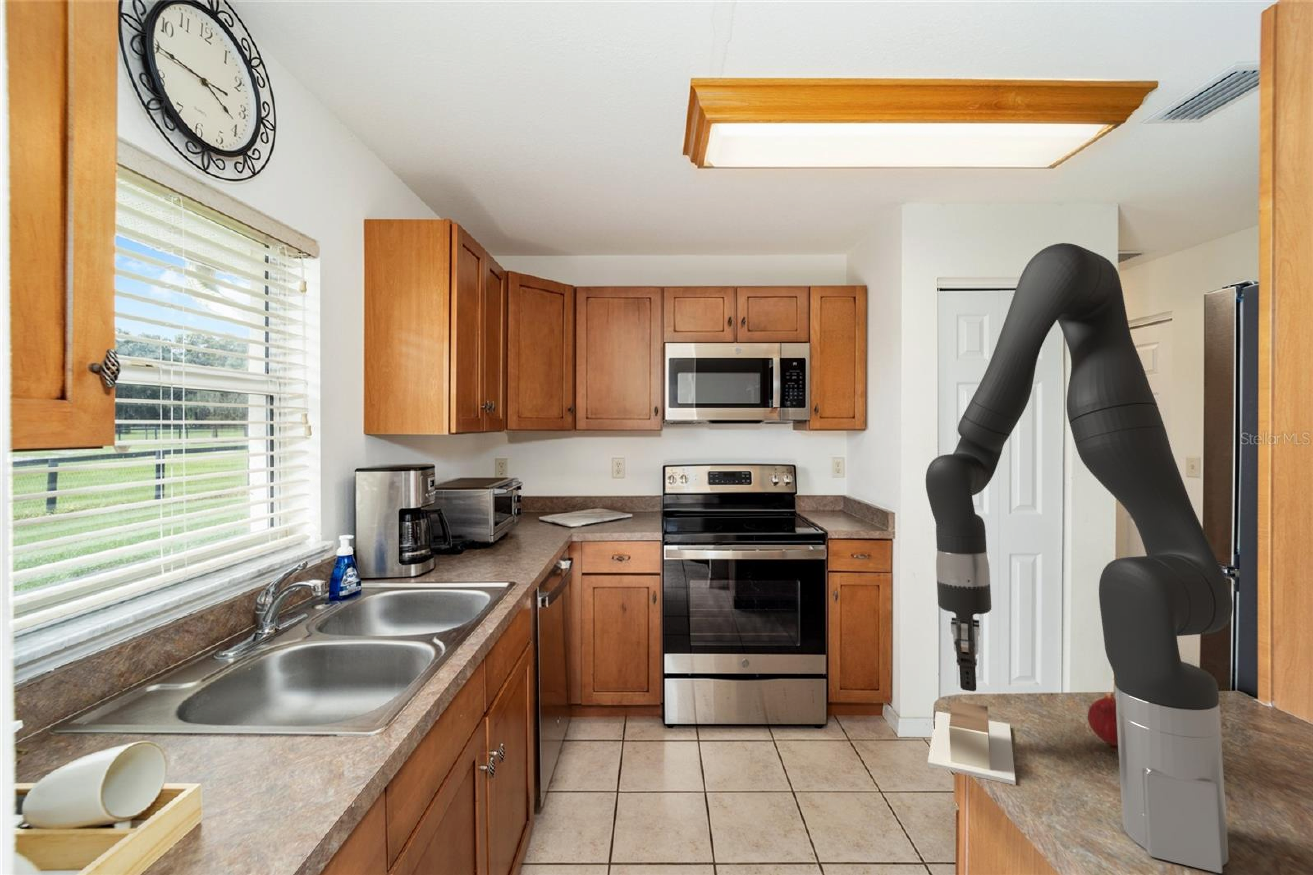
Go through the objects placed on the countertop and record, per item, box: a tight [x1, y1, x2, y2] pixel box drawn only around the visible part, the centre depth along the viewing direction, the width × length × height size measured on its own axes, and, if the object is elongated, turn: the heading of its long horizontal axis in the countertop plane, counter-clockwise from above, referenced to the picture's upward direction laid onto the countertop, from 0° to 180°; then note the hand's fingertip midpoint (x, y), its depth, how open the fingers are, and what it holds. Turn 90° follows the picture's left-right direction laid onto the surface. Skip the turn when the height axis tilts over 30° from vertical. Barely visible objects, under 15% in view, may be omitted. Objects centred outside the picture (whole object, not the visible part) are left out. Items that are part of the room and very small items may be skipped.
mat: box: [927, 711, 1016, 786], centre depth 90 cm, size 18×11×1 cm, turn 150°
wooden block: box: [949, 700, 990, 770], centre depth 88 cm, size 5×5×10 cm
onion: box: [1087, 691, 1118, 747], centre depth 88 cm, size 6×6×8 cm
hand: (968, 688), depth 91 cm, fingers closed
